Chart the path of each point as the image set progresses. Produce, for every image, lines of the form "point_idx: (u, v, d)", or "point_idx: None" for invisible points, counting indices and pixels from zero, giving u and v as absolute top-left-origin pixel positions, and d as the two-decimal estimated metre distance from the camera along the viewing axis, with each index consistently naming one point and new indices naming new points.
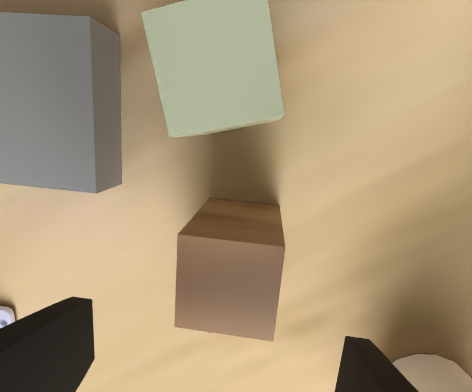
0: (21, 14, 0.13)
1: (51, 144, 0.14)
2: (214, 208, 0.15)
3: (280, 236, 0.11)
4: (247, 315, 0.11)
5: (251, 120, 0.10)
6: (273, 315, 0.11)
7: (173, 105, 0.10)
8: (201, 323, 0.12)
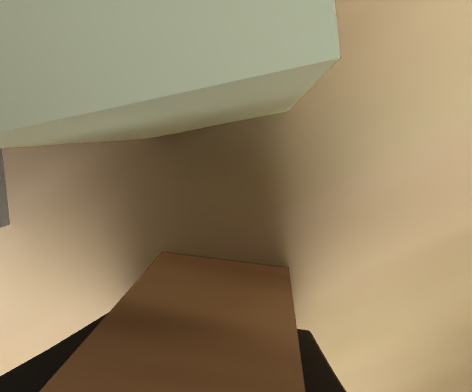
0: None
1: None
2: (157, 288, 0.07)
3: None
4: None
5: (193, 86, 0.02)
6: None
7: None
8: None
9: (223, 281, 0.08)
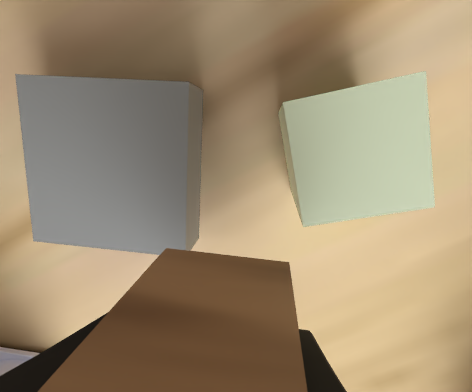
0: (115, 80, 0.12)
1: (140, 208, 0.14)
2: (163, 280, 0.07)
3: None
4: None
5: (396, 211, 0.09)
6: None
7: (310, 195, 0.09)
8: None
9: (225, 274, 0.08)
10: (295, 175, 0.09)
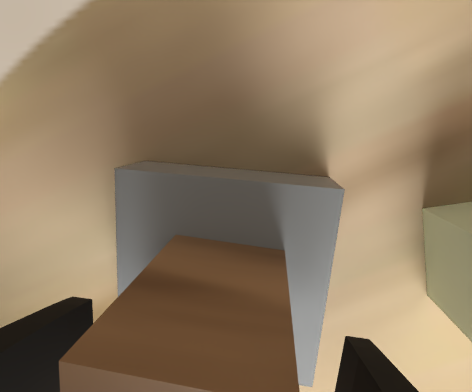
0: (247, 182, 0.10)
1: None
2: (174, 260, 0.09)
3: (289, 356, 0.05)
4: None
5: None
6: None
7: None
8: None
9: (229, 258, 0.09)
10: None
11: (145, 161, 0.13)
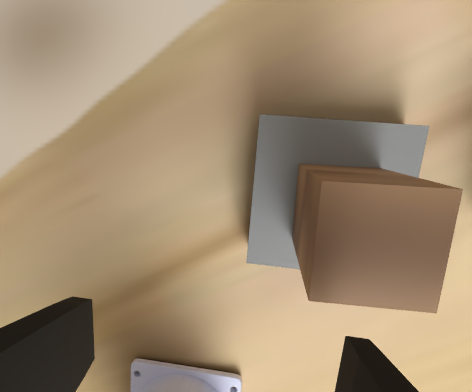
0: (358, 122, 0.14)
1: None
2: (319, 168, 0.13)
3: (437, 183, 0.09)
4: (405, 281, 0.09)
5: None
6: (439, 279, 0.09)
7: None
8: (343, 295, 0.09)
9: (350, 168, 0.13)
10: None
11: None
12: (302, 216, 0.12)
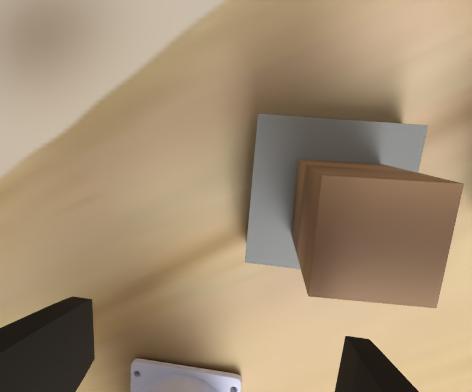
0: (357, 121, 0.14)
1: None
2: (318, 163, 0.12)
3: (438, 178, 0.09)
4: (405, 276, 0.09)
5: None
6: (439, 274, 0.09)
7: None
8: (343, 290, 0.09)
9: (350, 164, 0.13)
10: None
11: None
12: (302, 212, 0.12)
